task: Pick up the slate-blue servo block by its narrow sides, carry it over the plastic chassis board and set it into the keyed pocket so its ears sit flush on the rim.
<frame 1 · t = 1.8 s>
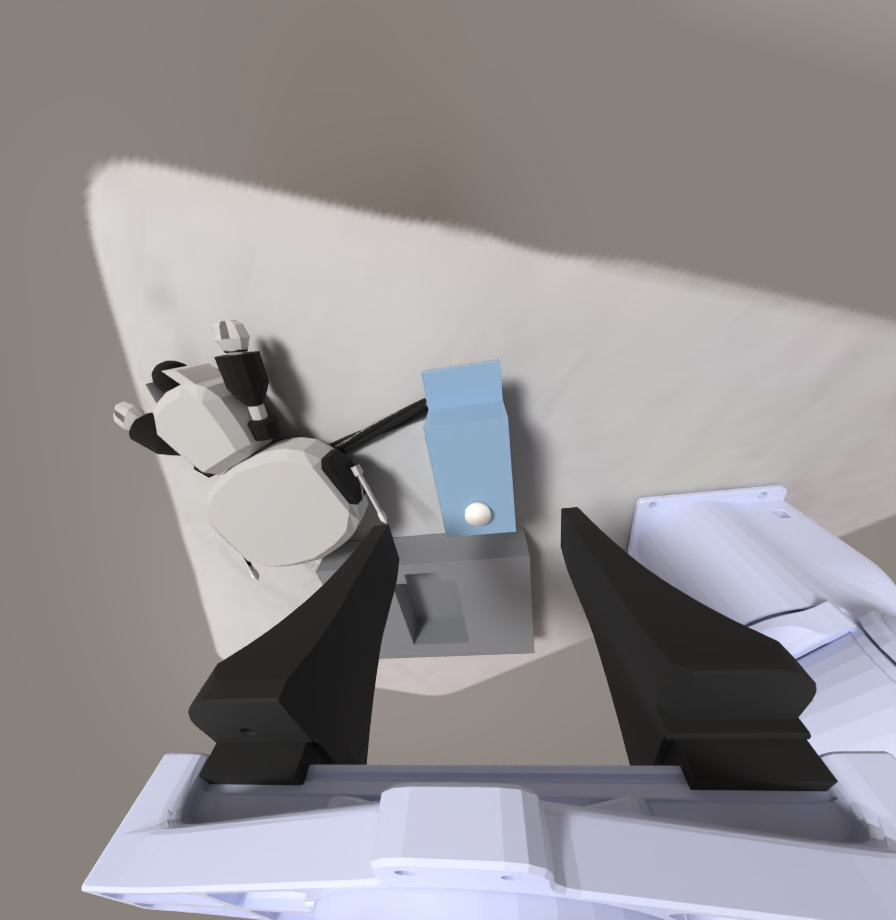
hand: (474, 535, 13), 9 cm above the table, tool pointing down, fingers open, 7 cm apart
electrical cable: (363, 433, 22), on the table, touching robot toy
robot toy: (277, 448, 23), on the table, touching electrical cable
servo: (472, 438, 21), on the table
chassis: (436, 584, 28), on the table
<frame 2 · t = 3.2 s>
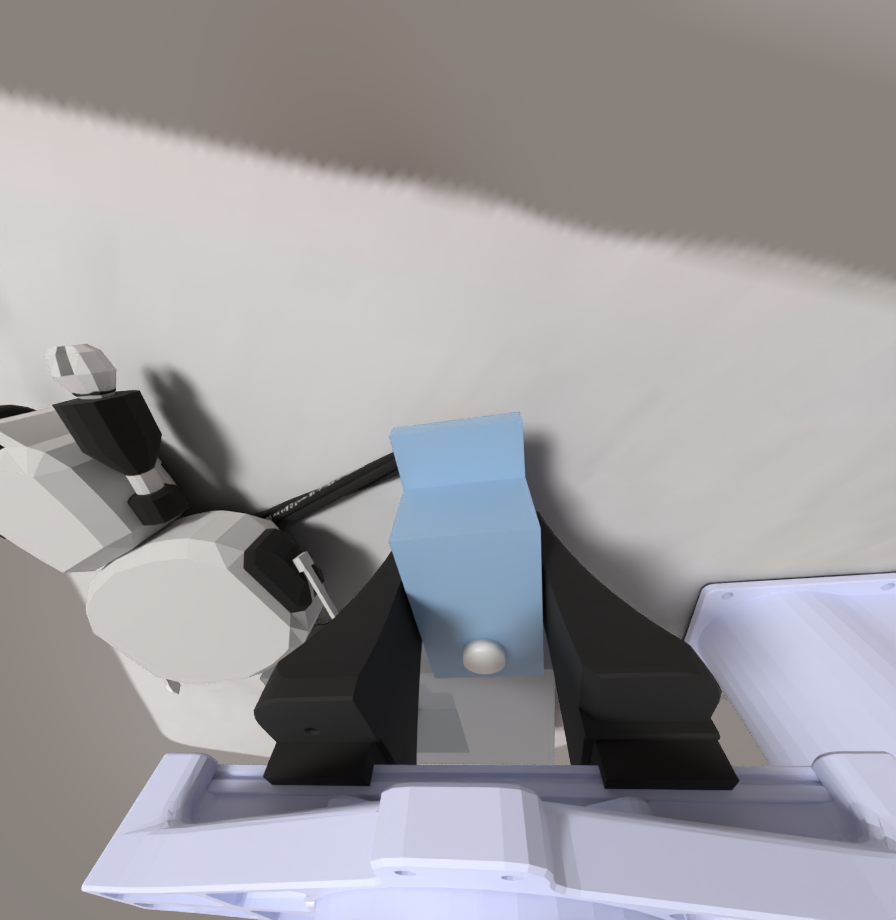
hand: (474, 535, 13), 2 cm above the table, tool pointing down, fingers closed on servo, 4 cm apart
electrical cable: (317, 492, 15), on the table, touching robot toy
robot toy: (201, 514, 16), on the table, touching electrical cable
servo: (473, 508, 15), on the table, touching gripper
chassis: (426, 673, 22), on the table
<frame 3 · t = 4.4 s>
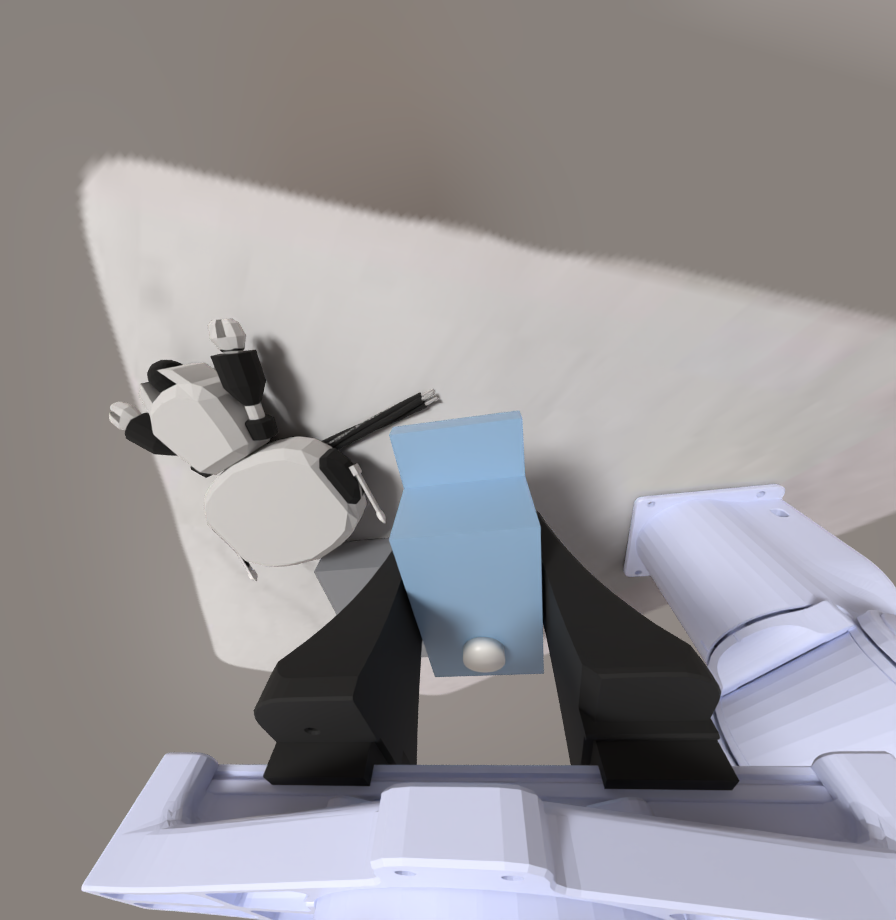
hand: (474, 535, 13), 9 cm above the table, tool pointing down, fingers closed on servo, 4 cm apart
electrical cable: (358, 428, 22), on the table, touching robot toy
robot toy: (275, 448, 23), on the table, touching electrical cable
servo: (473, 507, 15), point 7 cm above the table, touching gripper
chassis: (435, 584, 28), on the table
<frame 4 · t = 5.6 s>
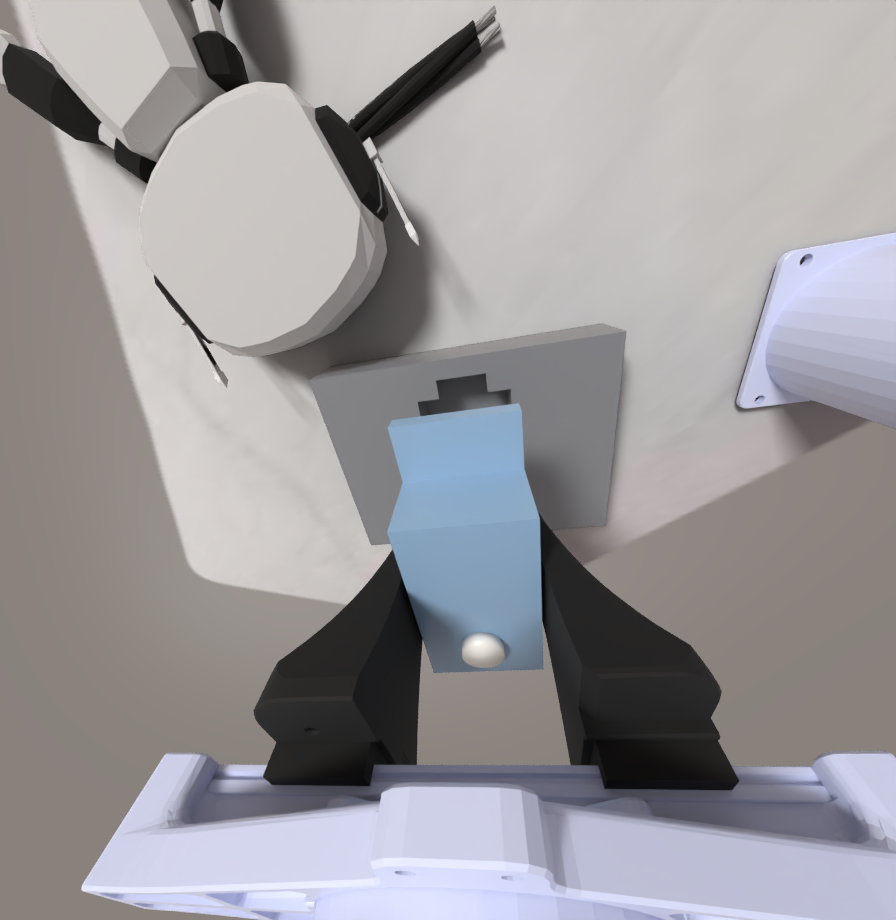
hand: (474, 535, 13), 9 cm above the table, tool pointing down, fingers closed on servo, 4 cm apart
electrical cable: (372, 131, 14), on the table, touching robot toy
robot toy: (252, 182, 15), on the table, touching electrical cable
servo: (473, 503, 15), point 7 cm above the table, touching gripper
chassis: (471, 438, 21), on the table
when the fingers open (4 cm above the table, at t = 6.9 s): servo drops 2 cm, resting on chassis.
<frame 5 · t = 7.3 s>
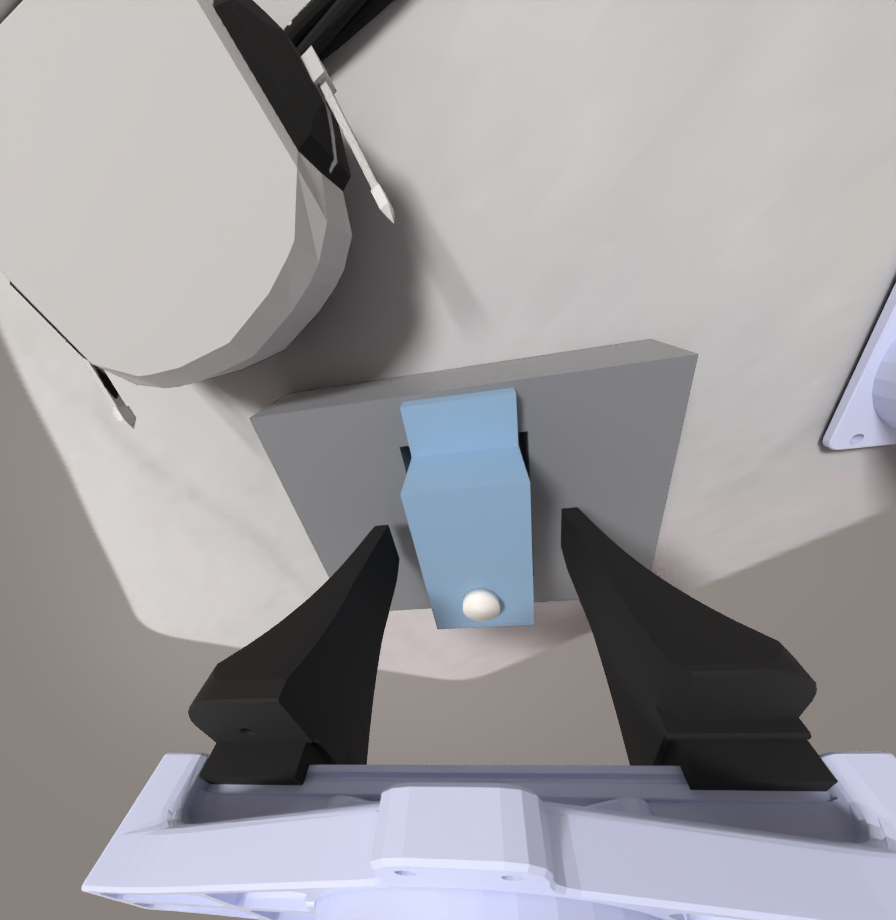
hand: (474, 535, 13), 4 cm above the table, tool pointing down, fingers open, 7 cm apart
electrical cable: (323, 51, 10), on the table, touching robot toy
robot toy: (162, 139, 11), on the table, touching electrical cable
servo: (472, 482, 16), resting on chassis
chassis: (473, 481, 17), on the table
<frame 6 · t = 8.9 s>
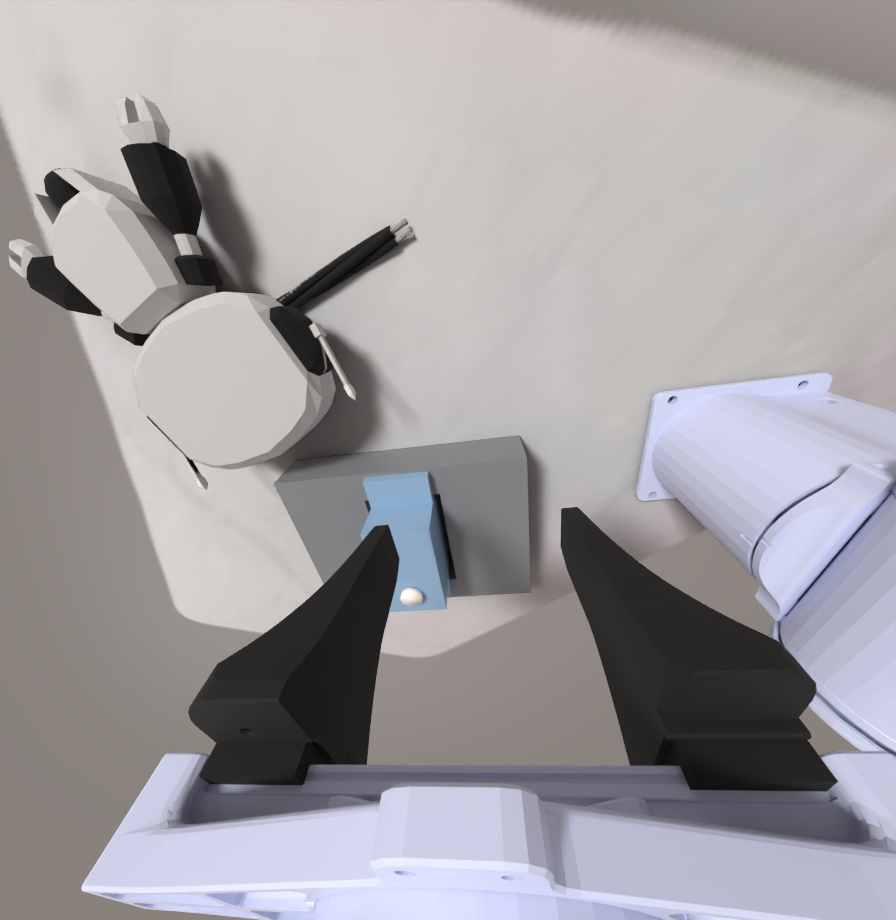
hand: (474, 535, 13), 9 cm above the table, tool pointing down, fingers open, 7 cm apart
electrical cable: (317, 288, 18), on the table, touching robot toy
robot toy: (227, 326, 19), on the table, touching electrical cable
servo: (417, 516, 24), resting on chassis
chassis: (419, 515, 25), on the table
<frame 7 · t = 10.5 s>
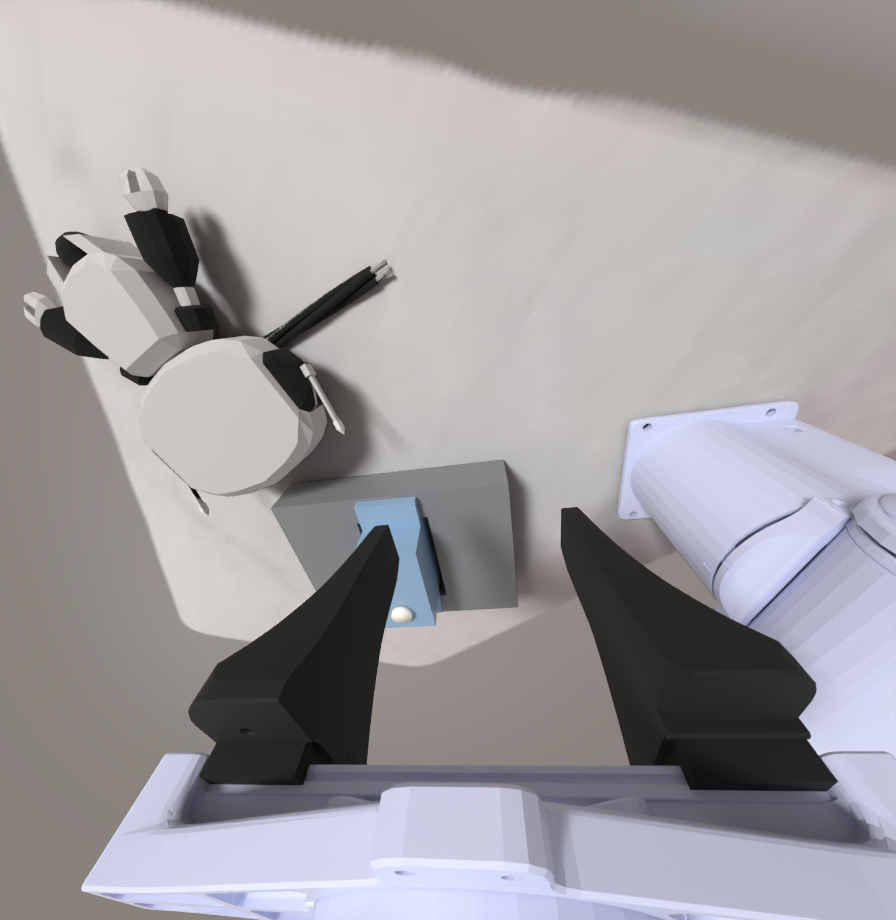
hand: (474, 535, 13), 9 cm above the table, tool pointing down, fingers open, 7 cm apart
electrical cable: (305, 322, 19), on the table
robot toy: (225, 362, 20), on the table
servo: (409, 535, 25), resting on chassis
chassis: (410, 533, 26), on the table
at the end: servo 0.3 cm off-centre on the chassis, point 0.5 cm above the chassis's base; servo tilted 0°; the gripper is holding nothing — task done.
